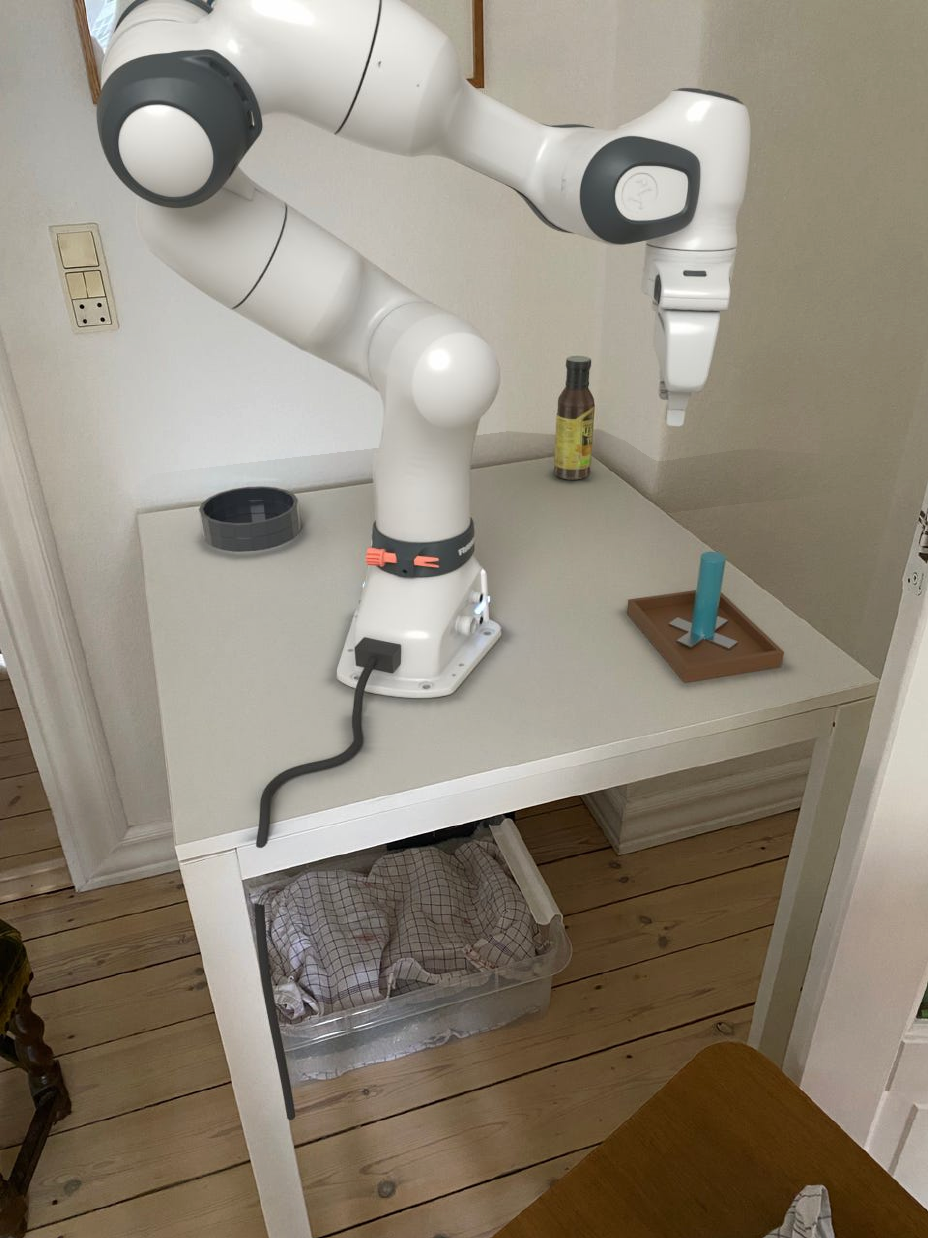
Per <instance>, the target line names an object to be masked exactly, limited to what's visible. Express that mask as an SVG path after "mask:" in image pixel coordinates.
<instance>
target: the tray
mask: <svg viewBox="0 0 928 1238" xmlns="http://www.w3.org/2000/svg"><path fill="white" fill-rule="evenodd" d="M695 596H696V589H693V590H687V591H680V592H672V593H671V592H670V593H666V594H658V595H650V596H644V597H636V598H629V599H627V608H626V615H627V616H628V617H629V618H630V620H631V621H632V622H633V623H634V624H635V625H636V627H637V628H638V629H639V630H640V631H641V633H642V634H643V635H644V636H645V638H646V639H647V640H648V641H649V642H650V644H651V645H652V646H653V647H654V648H655V649H656V651H657V652H658V653H659V654H660V655H661V657H662V658H663V659H664V660H665V662H666V663H667V664H668V665H669V667H671V669H672V670H673V671H674V672H675V673H676V676H678V677H679V678H680V680H681V681H682V682H683V683H684V684H687V683H691V682H698V681H704V680H710V679H718V678H722V677H728V676H729V677H730V676H734V675H741V674H747V673H748V674H749V673H754V672H760V671H766V670H772V669H778V668H782V665H783V660H784V655H785V651H784V650H783V649H782V647H780V646H779V645H777V643H775V641H774V640H772V639H771V638H770V637H769V636H768V635H767V634H766V633H765V632H764V631H763V630H762V629H761V628H760V627H758V626H757V625H756V623H755V622H753V621H752V620H751V619H750V618H749V617H748V616H747V615H746V614H745V613H744V612H743V611H742V610H741V609H740V608H738V607H737V606H736V605H735V604H734V602H732V601H731V600H730V599H729V598H728V597H727V596H726V595H725V594H724V593H723V592H722V591H721V594H720V601H719V608H718V614H717V616H719V617H721V618H724V619H727V620H728V623H726V624H725V625H723V626H722V627H721V628H719V629H718V630H716V631H715V633H718V634H720V635H723V636H725V637H728V638H730V639H733V640H735V641H738V644H737V645H735V646H734V647H733V648H731V649H730V650H727V649H725V648H723V647H720V646H718V645H715V644H713V643H710V642H708V641H706V640H702V641H701V642H699V643H698V644H696V645H695V646H694V647H692V648H688V647H686V646H684V645H681V644H679V643H677V642H676V641H677V640H678V639H679V638H681V637H682V636H684V635H685V634H687V633H686V632H684V631H681V630H679V629H676V628H674V627H672V626H669V625H668V623H670V622H671V621H673V620H674V619H676V618H677V617H678V618H680V619H683V620H685V621H688V622H690V623H692V618H693V611H694V603H695Z"/></svg>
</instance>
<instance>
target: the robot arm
mask: <svg viewBox="0 0 928 1238" xmlns="http://www.w3.org/2000/svg"><path fill="white" fill-rule="evenodd" d="M105 50H106V51H105V54H104V57H103V60H102V64H101V73H100V74H101V75H100V76H101V77H100V80H101V83H100V91H99V95H98V98H97V103H96V112H95V113H96V115H95V116H96V126H97V132H98V133H97V134H98V137H99V142H100V145H101V148H102V151H103V154H104V156H105V158H106V160H107V162H108V164H109V166H110V168H111V169H112V170H113V173H114V174H115V176H117V178H118V180H120V181H121V182H122V184H123V185H124V186H125V187H126V188H128V190H130V191H131V192H132V193H134V195H137V198H136V204H135V226H136V231H137V234H138V236H139V238H140V240H141V242H142V244H143V245H144V246H145V247H146V249H147V250H148V251H149V252H150V253H152V254H153V255H154V257H156V258H158V259H159V260H160V261H161V262H162V263H163V264H165V265H166V266H167V267H168V268H169V269H171V270H172V271H173V272H175V274H177V275H178V276H179V277H181V278H182V279H184V280H185V281H186V282H188V283H189V284H190V285H192V286H193V287H195V288H196V289H197V290H199V291H201V292H202V293H203V294H205V295H207V296H208V297H209V298H211V299H212V300H214V301H216V302H218V303H219V304H221V305H222V306H224V307H226V308H227V309H229V310H231V311H232V312H235V313H237V314H238V315H240V316H242V317H243V318H245V319H246V320H248V321H250V322H251V323H253V324H256V325H257V326H259V327H261V328H262V329H264V330H266V331H268V332H269V333H271V334H273V335H275V336H276V337H278V338H280V339H282V340H283V341H285V342H287V343H289V344H291V345H292V346H293V347H296V348H297V349H299V350H300V351H303V352H306V353H308V354H310V355H312V356H315V357H316V358H318V359H320V360H322V361H324V362H326V363H328V364H330V365H332V366H334V367H336V368H338V369H340V370H342V371H343V372H344V373H345V372H346V373H347V374H349V375H351V376H353V377H355V378H356V379H358V380H360V381H361V382H363V383H365V384H367V385H368V386H369V387H370V388H372V389H374V390H375V391H377V393H378V394H379V395H380V398H381V402H382V407H383V408H382V409H383V417H382V418H383V421H382V428H381V435H380V442H379V444H378V445H379V446H378V449H377V451H376V452H375V454H374V455H373V458H372V462H371V467H372V483H373V485H372V486H373V499H374V502H373V503H374V516H375V519H374V521H373V523H372V531H371V535H370V546H371V547H368V548H367V549H366V554H365V563H366V564H367V570H366V574H365V577H364V581H363V584H362V591H361V595H360V599H359V601H358V602H359V603H358V608H357V609H356V610H355V611H354V613H353V617H352V619H351V623H350V626H349V629H348V633H347V636H346V638H345V642H344V645H343V647H342V651H341V654H340V658H339V661H338V665H337V667H336V680H338V681H339V682H341V683H342V684H344V685H346V686H348V687H350V688H353V689H354V690H355V691H354V696H353V705H352V706H353V708H352V715H351V727H352V734H353V735H352V736H353V740H352V743H351V744H350V746H348V747H347V749H345V750H344V751H342V752H341V753H340V754H337V755H335V756H333V757H330V758H325V759H322V760H317V761H312V762H307V763H304V764H299V765H297V766H293V767H291V768H287V769H285V770H284V771H282V772H280V773H279V774H277V775H276V776H275V777H273V778H272V780H270V781H269V782H268V784H266V786H265V787H264V789H263V790H262V793H261V796H260V800H259V801H260V802H259V818H258V819H259V820H258V827H257V834H256V842H255V846H256V848H258V849H262V848H265V847H266V846H267V844H268V837H269V831H270V824H271V822H270V821H271V805H272V804H271V803H272V798H273V795H274V793H275V792H276V791H277V790H278V789H279V788H280V787H281V786H282V785H283V784H285V782H287V781H289V780H290V779H293V778H295V777H298V776H301V775H304V774H308V773H314V772H317V771H322V770H328V769H330V768H334V767H337V766H339V765H342V764H344V763H346V762H347V761H349V760H350V759H352V758H353V757H354V756H355V755H356V754H357V753H358V752H359V751H360V749H361V747H362V744H363V742H364V741H363V740H364V735H363V729H362V712H363V702H364V694H365V692H366V693H369V694H375V695H382V696H388V697H396V698H407V699H409V698H410V699H431V698H432V699H433V698H439V697H445V696H449V695H452V694H453V693H454V692H456V691H457V689H458V688H459V687H460V686H461V684H462V683H463V682H464V681H465V680H466V679H467V677H468V676H469V675H470V674H471V673H472V672H473V671H474V669H475V668H476V667H477V665H479V663H480V662H481V661H482V659H483V658H484V657H485V656H486V655H487V654H488V652H490V650H491V649H492V648H493V646H494V645H496V643H497V642H498V640H499V639H500V638H501V637H502V627H501V625H500V624H499V623H497V622H496V621H494V620H492V619H491V618H490V612H489V611H490V610H489V603H490V601H491V596H489V591H488V590H489V589H488V588H489V587H488V575H487V571H486V570H485V568H484V567H483V566H482V565H481V564H480V563H479V561H478V560H477V559H476V557H475V554H474V553H475V547H476V546H475V542H476V530H475V522H474V519H473V518H472V516H471V482H472V481H471V477H472V476H471V475H472V474H471V469H472V459H473V458H472V457H473V451H474V445H475V442H476V441H475V440H476V437H477V433H478V429H479V425H480V421H481V418H482V417H483V416H484V415H485V414H486V413H487V412H488V411H489V410H490V409H491V407H492V405H493V403H494V401H495V399H496V397H497V395H498V392H499V390H500V389H499V388H500V383H501V369H500V368H501V367H500V363H499V360H498V357H497V354H496V353H495V351H494V349H493V348H492V347H491V345H490V343H489V342H488V341H487V338H485V337H484V335H483V334H482V333H481V332H480V330H479V329H477V328H476V326H474V324H472V323H471V322H469V321H468V320H466V319H465V318H463V317H461V316H459V315H457V314H455V313H453V312H451V311H449V310H448V309H445V308H443V307H441V306H440V305H437V304H435V303H434V302H433V301H430V300H429V299H427V298H425V297H423V296H422V295H420V294H418V293H416V292H415V291H413V290H412V289H410V288H409V287H408V286H406V285H404V284H403V283H402V282H400V281H399V280H397V279H396V278H394V277H393V276H392V275H390V274H389V273H387V272H386V271H385V270H384V269H382V268H381V267H379V266H378V265H376V264H375V263H373V262H372V261H371V260H369V259H368V258H367V257H366V256H364V255H363V254H361V253H360V252H359V251H358V250H357V249H355V248H354V247H352V246H351V245H349V244H348V243H346V241H344V240H342V239H341V238H339V237H337V236H336V235H334V234H333V233H331V232H330V231H328V230H327V229H326V228H324V227H323V226H321V225H320V224H318V223H317V222H315V221H313V220H312V219H311V218H310V217H307V216H306V215H305V214H304V213H302V212H301V211H299V210H297V209H295V208H294V207H293V206H292V205H290V204H288V203H287V202H286V201H284V200H283V199H281V198H279V197H278V196H276V195H275V194H273V192H270V191H269V190H267V189H266V188H264V187H262V186H261V185H259V184H258V183H257V182H255V181H254V180H253V179H252V178H250V177H249V176H248V175H247V174H246V173H245V172H244V171H243V170H242V169H241V167H240V166H239V165H240V163H241V161H242V160H243V159H244V157H245V156H246V154H247V153H248V152H249V151H250V149H251V148H252V147H253V145H254V144H255V143H256V141H257V140H258V139H259V137H260V136H261V134H262V132H263V117H265V116H268V115H272V114H273V115H274V114H277V115H286V116H290V117H293V118H296V119H298V120H300V121H301V120H302V121H304V122H306V123H308V124H310V125H312V126H315V127H317V128H319V129H321V130H323V131H326V132H328V133H330V134H333V135H334V136H337V137H339V138H341V139H344V140H346V141H349V142H352V143H354V144H357V145H360V146H362V147H367V148H369V149H372V150H376V151H380V152H384V153H386V154H387V153H388V154H391V155H397V156H401V157H402V156H403V157H407V158H417V157H421V156H435V157H436V156H437V157H442V158H445V159H449V160H452V161H454V162H456V163H458V164H461V165H463V166H465V167H467V168H468V169H470V170H473V171H475V172H478V173H479V174H482V175H484V176H485V177H488V178H490V179H492V180H494V181H497V182H499V183H501V184H503V185H505V186H507V187H508V188H511V189H512V190H513V191H515V192H516V193H517V194H518V195H519V196H520V197H521V198H522V199H523V201H524V202H525V204H526V205H527V206H528V207H529V208H530V210H531V211H532V212H533V214H534V215H535V216H536V217H537V218H538V219H539V220H540V221H541V222H542V223H543V224H544V225H546V226H547V227H549V228H551V229H553V230H555V231H557V232H561V233H566V234H572V235H573V234H574V235H578V236H581V237H583V238H586V239H589V240H591V241H592V240H593V241H596V242H599V243H602V244H606V245H610V246H625V245H630V244H636V243H641V242H645V247H644V248H645V249H644V258H643V268H642V277H641V287H640V291H641V293H643V294H644V295H646V296H649V297H650V298H651V299H652V300H651V301H652V302H651V309H652V310H653V311H654V312H655V317H654V324H653V332H652V345H653V348H654V351H655V355H656V358H657V362H658V365H659V384H658V396H659V398H660V400H664V401H665V400H667V404H666V409H665V415H664V416H665V417H664V419H665V423H666V425H667V426H668V427H682V426H684V424H685V418H686V412H687V408H688V405H689V402H690V399H691V396H692V393H700V392H703V390H704V388H705V385H706V383H707V381H708V377H709V373H710V369H711V364H712V360H713V356H714V352H715V347H716V341H717V338H718V333H719V329H720V328H719V327H720V321H721V312H726V311H727V310H728V309H729V306H730V300H731V290H732V289H731V288H732V282H733V275H734V269H735V262H736V256H737V248H738V233H737V222H738V216H739V212H740V209H741V207H742V205H743V202H744V199H745V194H746V190H747V189H746V188H747V182H748V173H749V166H750V165H749V164H750V155H751V154H750V153H751V140H752V139H751V133H752V131H751V120H750V119H751V118H750V113H749V111H748V107H747V106H746V105H745V104H744V103H743V102H742V101H741V100H740V99H739V98H737V97H735V96H733V95H730V94H727V93H725V92H724V93H723V92H719V91H715V90H705V89H702V88H697V87H681V88H677V89H673V90H672V91H670V93H669V94H668V95H667V96H666V97H665V98H664V100H662V101H661V102H660V103H659V104H657V105H655V107H652V109H650V110H648V111H646V113H644V114H642V115H640V116H638V117H636V118H635V119H633V120H631V121H629V122H627V123H624V124H621V125H619V126H616V129H608V128H599V127H594V126H591V125H586V124H581V123H579V124H577V123H569V124H568V123H565V124H554V125H553V124H552V125H548V124H545V123H540V122H538V121H536V120H534V119H532V118H530V117H529V116H527V115H525V114H523V113H521V112H519V111H517V110H515V109H513V108H511V107H509V106H508V105H505V104H504V103H502V102H500V101H498V100H497V99H494V98H492V97H491V96H489V95H487V94H485V93H483V92H482V91H480V90H479V89H478V88H476V87H475V86H473V84H471V83H470V82H469V81H468V80H467V78H466V77H465V76H464V74H463V72H462V70H461V64H460V59H459V56H458V53H457V49H456V47H455V46H454V42H453V41H452V39H451V38H450V36H449V35H447V34H446V33H445V32H444V31H443V30H441V29H440V27H438V26H437V25H435V23H433V22H432V21H431V20H429V19H428V18H427V17H426V16H424V15H423V14H422V13H420V12H419V11H418V10H416V9H415V8H413V7H412V6H411V5H409V4H408V3H405V2H404V1H402V0H217V1H216V4H215V5H214V8H213V6H211V5H210V4H209V3H208V2H207V1H205V0H134V1H133V2H131V4H129V5H128V6H127V7H126V8H125V10H124V11H123V12H122V14H121V15H120V17H119V19H118V20H117V23H116V25H115V28H114V31H113V35H112V36H111V39H110V41H109V43H108V45H107V48H106V49H105ZM253 905H254V921H255V923H254V925H255V938H256V947H257V956H258V964H259V973H260V979H261V985H262V992H263V997H264V1002H265V1003H264V1004H265V1008H266V1014H267V1020H268V1024H269V1030H270V1035H271V1040H272V1045H273V1049H274V1054H275V1059H276V1064H277V1068H278V1073H279V1078H280V1084H281V1090H282V1095H283V1101H284V1107H285V1113H286V1119H287V1120H288V1121H293V1120H294V1119H295V1118H296V1110H295V1103H294V1097H293V1091H292V1085H291V1080H290V1073H289V1069H288V1068H289V1067H288V1063H287V1059H286V1053H285V1048H284V1043H283V1037H282V1033H281V1028H280V1022H279V1017H278V1012H277V1006H276V1001H275V996H274V995H275V994H274V989H273V983H272V974H271V967H270V966H271V965H270V960H269V949H268V938H267V926H266V905H265V904H260V903H255V902H254V903H253Z"/></svg>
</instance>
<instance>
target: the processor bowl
mask: <svg viewBox="0 0 928 1238" xmlns="http://www.w3.org/2000/svg"><path fill="white" fill-rule="evenodd" d="M299 505H300V504H299V500H298V498H297V496H296V495H295V494H294V493H292V492H290V491H289V490H287V489H283V488H279V487H275V486H274V487H273V486H262V485H260V486H258V485H257V486H245V487H237V488H232V489H229V490H224V491H221V492H218V493H216V494H213V495H211V496H209V497H208V498H206V499H205V500H204V501H202V502H201V503H200V506H199V508H198V512H199V518H200V525H201V532H202V536H203V539H204V541H205V542H206V543H207V544H208V545H209V546H211V547H213V548H215V549H219V550H223V551H226V552H237V553H238V552H239V553H240V552H241V553H245V552H259V551H264V550H270V549H272V548H276V547H279V546H281V545H284V544H287V543H288V542H289V541H291V540H293V539H294V538H295V537H296V536H298V534H299V533H300V531H301V526H302V524H301V515H300V506H299Z"/></svg>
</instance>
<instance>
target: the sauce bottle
mask: <svg viewBox="0 0 928 1238" xmlns="http://www.w3.org/2000/svg"><path fill="white" fill-rule="evenodd" d="M591 367H592V358H590V357H588V356H583V355H570V356H567V358H566V360H565V368H566V377H565V387H564V389H563V390H562V391H561V393H560V394H559V396H558V398H557V412H556V418H555V419H556V420H555V439H554V440H555V441H554V456H553V457H554V458H553V461H554V462H553V464H554V469H553V471H554V476H556V477H557V478H559V479H563V480H571V481H577V480H583V479H585V478H587V477H588V476H589V475H590V474H591V470H590V469H591V465H592V453H593V440H594V428H595V427H594V424H595V410H596V404H595V398H594V395H593V393H592V392H591V389H590V388H589V386H590V371H591Z"/></svg>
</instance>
